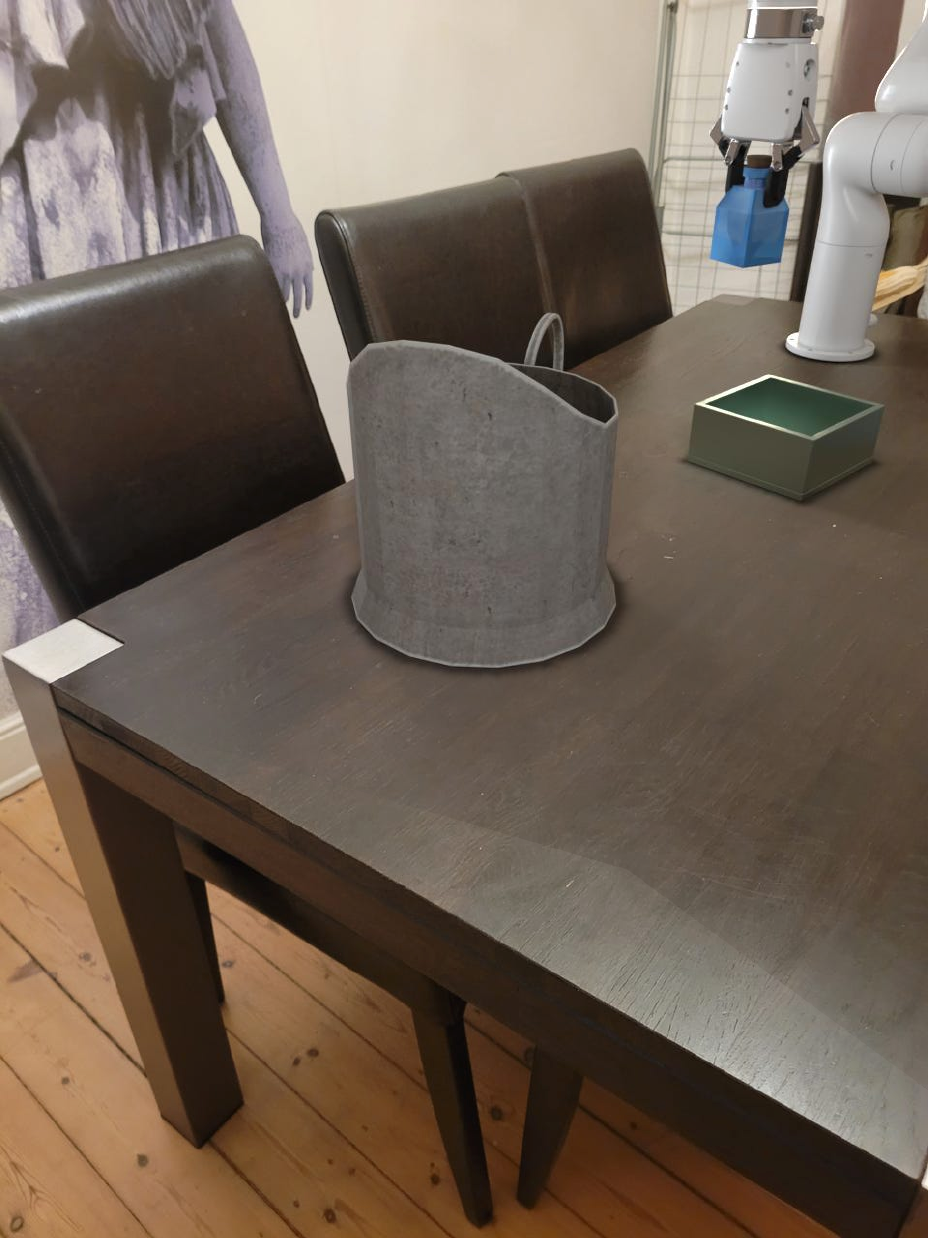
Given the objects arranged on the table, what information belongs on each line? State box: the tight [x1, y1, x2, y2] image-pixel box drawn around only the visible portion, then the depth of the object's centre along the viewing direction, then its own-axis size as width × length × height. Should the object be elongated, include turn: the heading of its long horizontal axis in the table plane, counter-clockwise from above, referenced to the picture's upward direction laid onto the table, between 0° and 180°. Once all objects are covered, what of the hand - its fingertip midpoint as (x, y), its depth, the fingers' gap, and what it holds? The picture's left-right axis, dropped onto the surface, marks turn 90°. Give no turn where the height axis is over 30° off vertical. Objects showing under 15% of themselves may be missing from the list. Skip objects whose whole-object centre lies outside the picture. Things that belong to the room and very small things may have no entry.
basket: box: [686, 374, 886, 502], centre depth 103 cm, size 15×15×7 cm
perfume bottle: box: [709, 154, 790, 269], centre depth 115 cm, size 6×6×12 cm
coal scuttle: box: [345, 312, 619, 669], centre depth 79 cm, size 23×32×25 cm
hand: (752, 201), depth 114 cm, fingers closed on perfume bottle, 4 cm apart
